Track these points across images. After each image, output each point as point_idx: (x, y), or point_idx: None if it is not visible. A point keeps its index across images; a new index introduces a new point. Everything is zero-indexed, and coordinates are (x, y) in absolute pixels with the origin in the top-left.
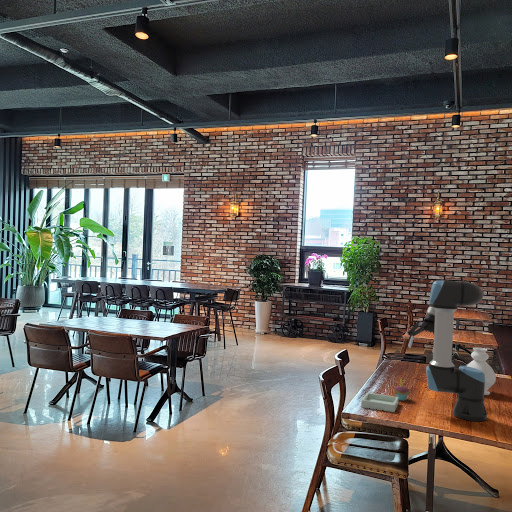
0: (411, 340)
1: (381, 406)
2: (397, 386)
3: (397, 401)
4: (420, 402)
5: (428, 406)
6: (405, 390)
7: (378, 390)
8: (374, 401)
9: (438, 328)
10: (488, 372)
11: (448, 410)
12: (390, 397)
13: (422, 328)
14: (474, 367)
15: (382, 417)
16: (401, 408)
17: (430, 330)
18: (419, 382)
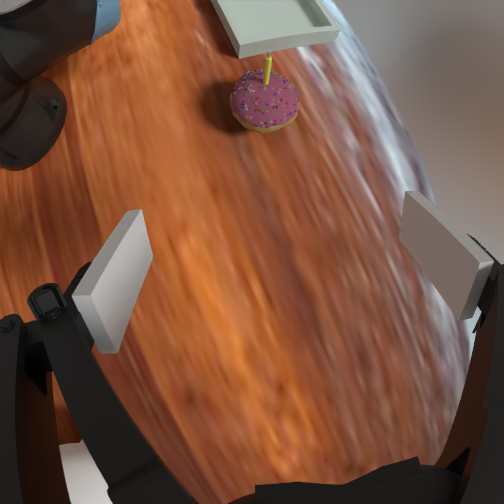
0: (441, 231)
1: None
2: (282, 83)
3: (230, 32)
4: (188, 132)
5: (148, 110)
6: (239, 81)
7: (380, 167)
8: (294, 17)
9: None
10: None
11: (84, 125)
12: (263, 37)
13: (474, 443)
14: (71, 493)
15: None
16: (208, 31)
17: (243, 500)
18: (329, 434)
